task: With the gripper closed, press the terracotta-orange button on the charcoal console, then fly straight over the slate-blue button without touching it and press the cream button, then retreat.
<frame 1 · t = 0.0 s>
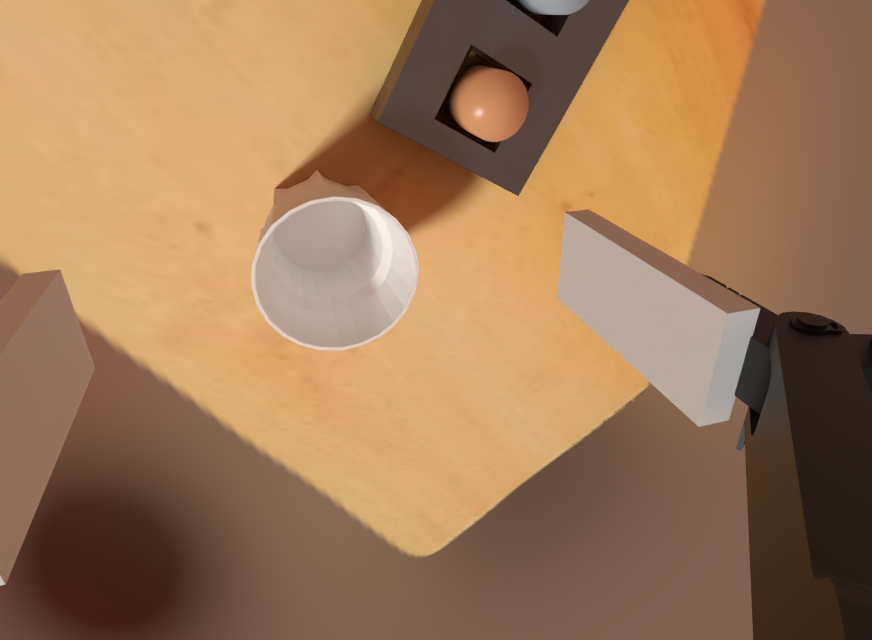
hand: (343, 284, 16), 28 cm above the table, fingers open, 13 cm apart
button orange: (487, 103, 39), point 4 cm above the table, slide at 0.0 cm
cup: (319, 225, 43), on the table
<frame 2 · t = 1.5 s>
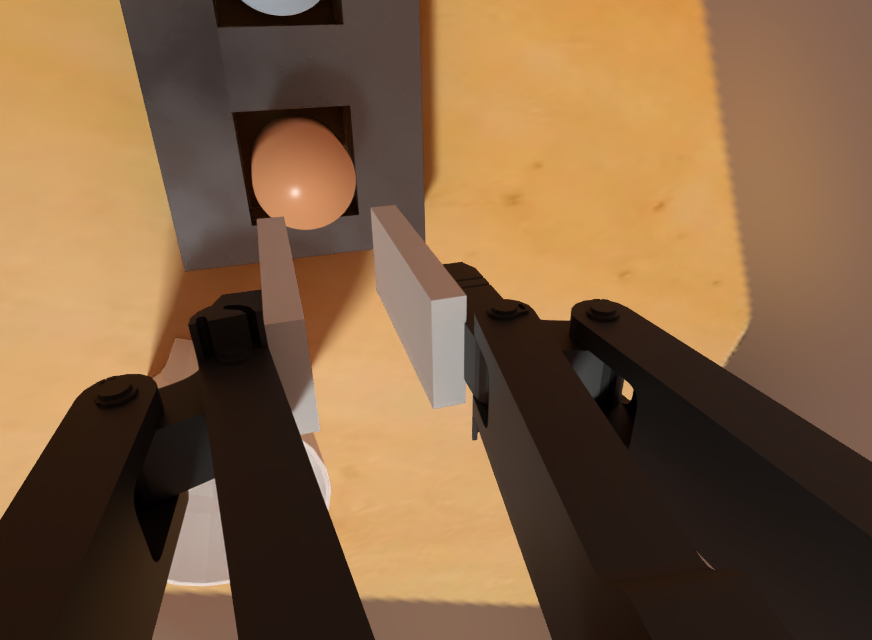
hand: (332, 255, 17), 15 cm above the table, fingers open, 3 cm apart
button orange: (301, 171, 27), point 4 cm above the table, slide at 0.0 cm
cup: (224, 385, 35), on the table
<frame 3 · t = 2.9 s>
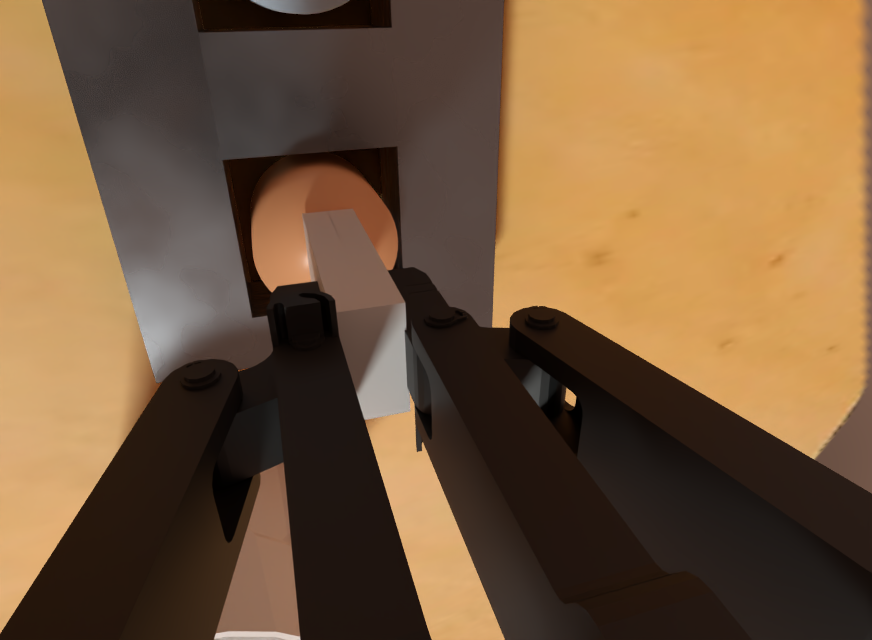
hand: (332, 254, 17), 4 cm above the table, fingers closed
button orange: (320, 229, 19), point 2 cm above the table, slide at 1.3 cm, touching gripper
cup: (216, 504, 26), on the table
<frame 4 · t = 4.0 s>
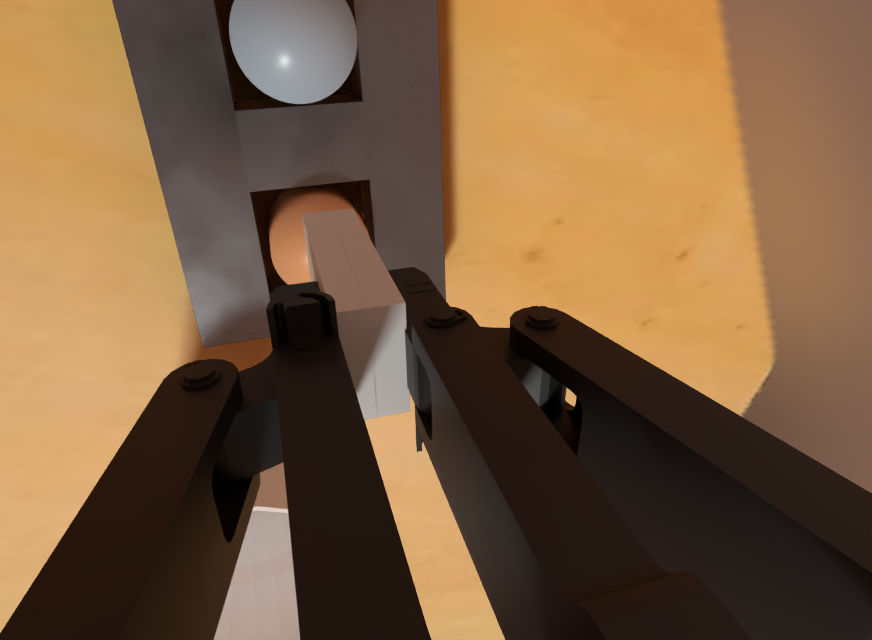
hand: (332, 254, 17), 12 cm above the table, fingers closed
button slate: (291, 36, 22), point 4 cm above the table, slide at 0.0 cm
button orange: (317, 236, 27), point 2 cm above the table, slide at 1.4 cm
console: (286, 33, 25), on the table
cup: (242, 448, 34), on the table
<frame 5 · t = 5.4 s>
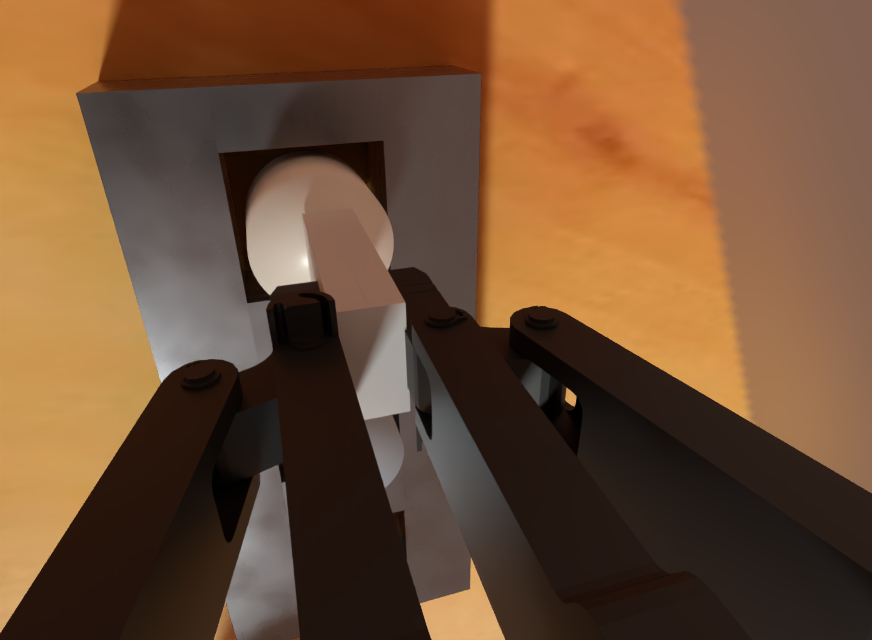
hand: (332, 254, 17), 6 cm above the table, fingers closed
button slate: (339, 432, 23), point 4 cm above the table, slide at 0.0 cm
console: (327, 382, 26), on the table
button cream: (316, 229, 19), point 4 cm above the table, slide at 0.0 cm, touching gripper
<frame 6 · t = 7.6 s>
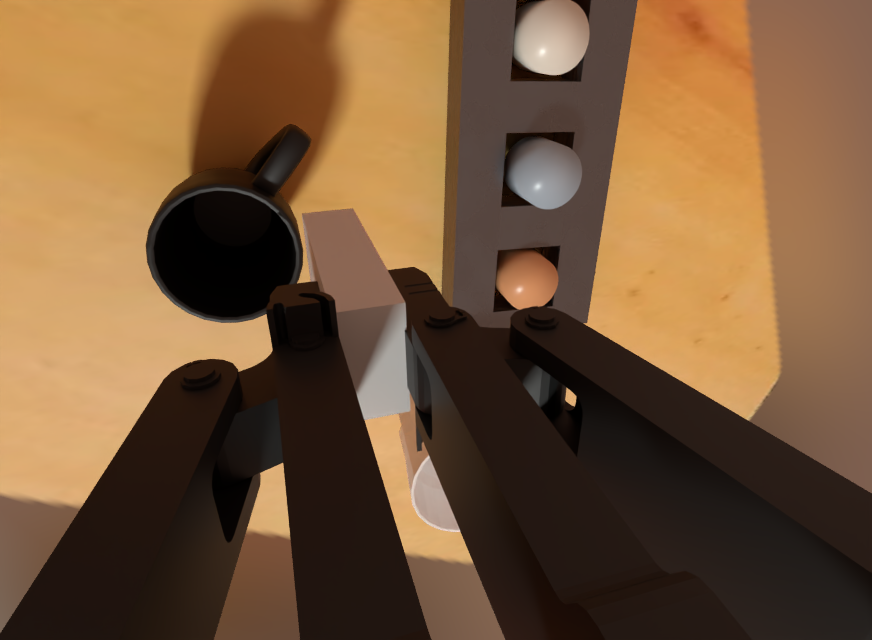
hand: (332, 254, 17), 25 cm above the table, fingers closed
button slate: (541, 172, 41), point 4 cm above the table, slide at 0.0 cm
button orange: (522, 276, 46), point 2 cm above the table, slide at 1.4 cm
console: (520, 161, 44), on the table
button cream: (546, 37, 38), point 2 cm above the table, slide at 1.5 cm
mug: (248, 187, 40), on the table
cup: (439, 407, 53), on the table
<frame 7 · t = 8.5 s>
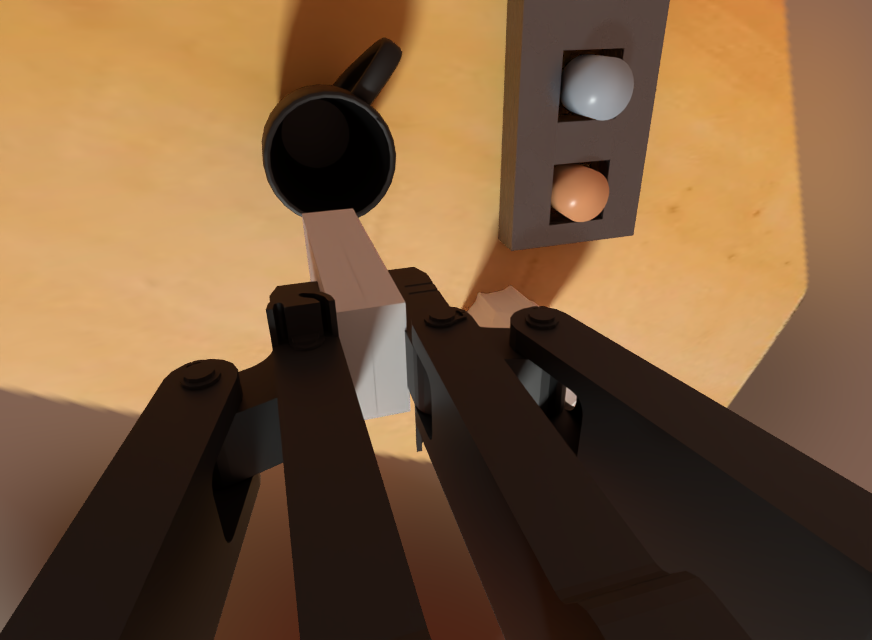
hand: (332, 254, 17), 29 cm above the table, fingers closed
button slate: (595, 86, 44), point 4 cm above the table, slide at 0.0 cm
button orange: (575, 191, 50), point 2 cm above the table, slide at 1.4 cm
console: (571, 81, 48), on the table
mug: (328, 111, 44), on the table
cup: (495, 323, 57), on the table
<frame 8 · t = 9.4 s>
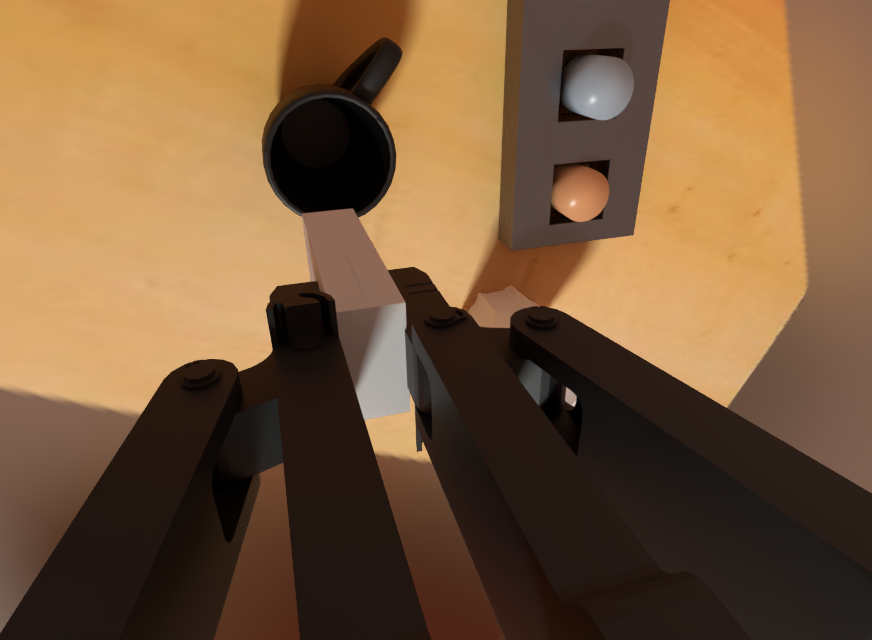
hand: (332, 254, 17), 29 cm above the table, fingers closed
button slate: (595, 86, 44), point 4 cm above the table, slide at 0.0 cm
button orange: (575, 190, 50), point 2 cm above the table, slide at 1.4 cm
console: (572, 81, 48), on the table
mug: (328, 111, 44), on the table
cup: (495, 323, 57), on the table
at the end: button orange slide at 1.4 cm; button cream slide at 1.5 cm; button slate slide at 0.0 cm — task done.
